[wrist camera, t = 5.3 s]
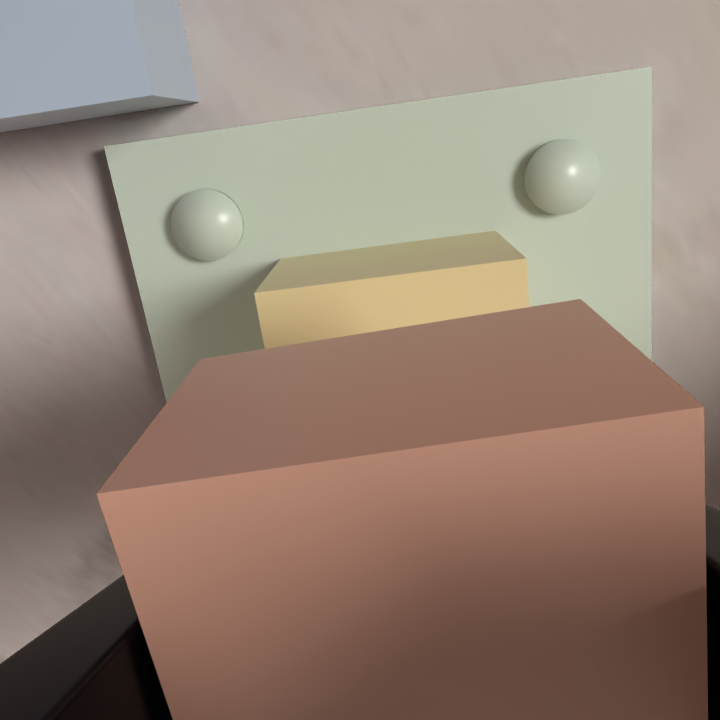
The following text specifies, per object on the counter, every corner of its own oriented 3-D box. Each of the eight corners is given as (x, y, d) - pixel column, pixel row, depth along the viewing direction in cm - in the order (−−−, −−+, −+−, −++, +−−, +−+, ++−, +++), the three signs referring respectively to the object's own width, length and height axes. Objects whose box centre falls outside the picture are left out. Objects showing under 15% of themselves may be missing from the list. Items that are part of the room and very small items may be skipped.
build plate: (641, 68, 15) (733, 48, 11) (643, 506, 18) (713, 606, 15) (113, 145, 16) (26, 151, 12) (210, 548, 19) (167, 655, 15)
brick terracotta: (580, 298, 9) (704, 407, 5) (603, 618, 10) (709, 855, 7) (200, 359, 9) (95, 493, 6) (278, 657, 11) (232, 897, 7)
